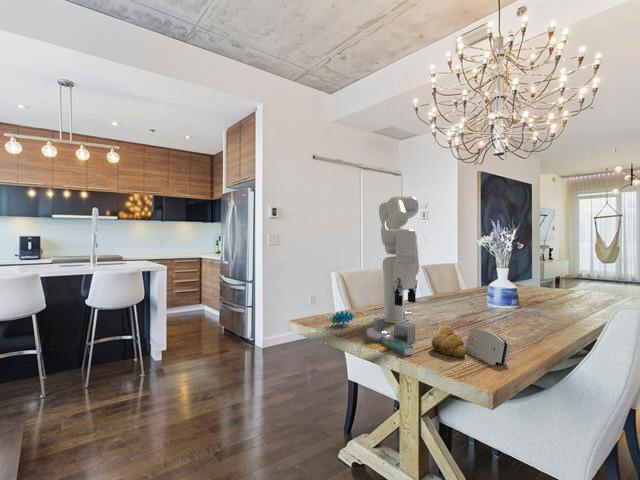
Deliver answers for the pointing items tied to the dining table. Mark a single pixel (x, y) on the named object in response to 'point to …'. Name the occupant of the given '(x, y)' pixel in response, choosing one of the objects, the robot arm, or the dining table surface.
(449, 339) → the bread roll
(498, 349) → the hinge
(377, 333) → the ratchet
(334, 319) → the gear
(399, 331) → the socket
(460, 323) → the dining table surface
